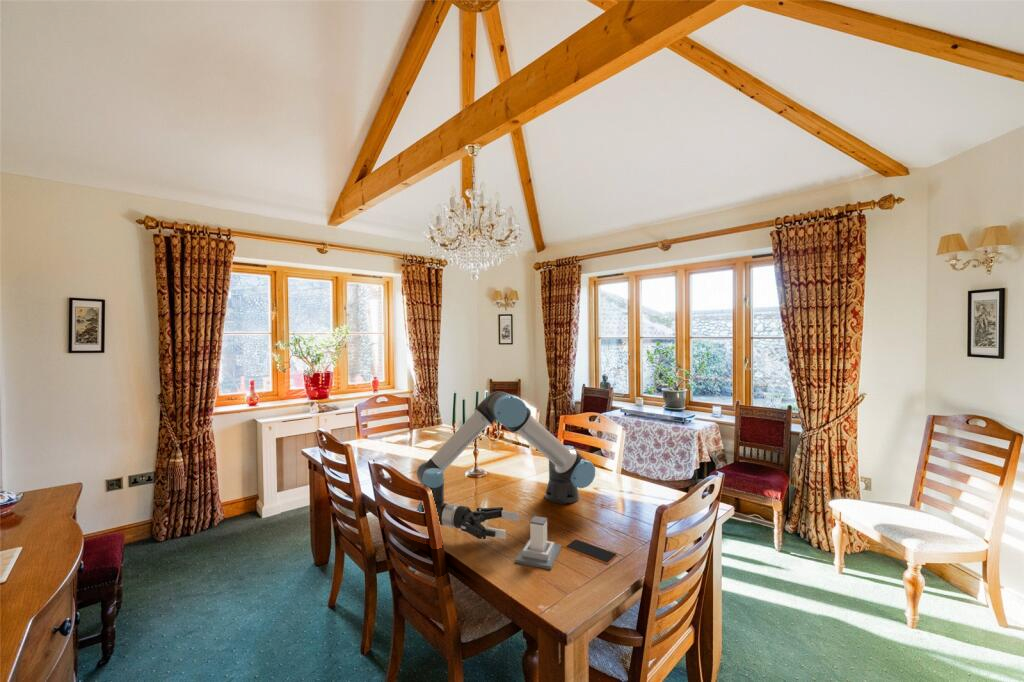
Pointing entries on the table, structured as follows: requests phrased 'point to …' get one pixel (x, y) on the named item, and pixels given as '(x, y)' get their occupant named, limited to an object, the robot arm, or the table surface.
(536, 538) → the block
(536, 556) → the dock
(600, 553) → the smartphone
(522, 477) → the table surface
